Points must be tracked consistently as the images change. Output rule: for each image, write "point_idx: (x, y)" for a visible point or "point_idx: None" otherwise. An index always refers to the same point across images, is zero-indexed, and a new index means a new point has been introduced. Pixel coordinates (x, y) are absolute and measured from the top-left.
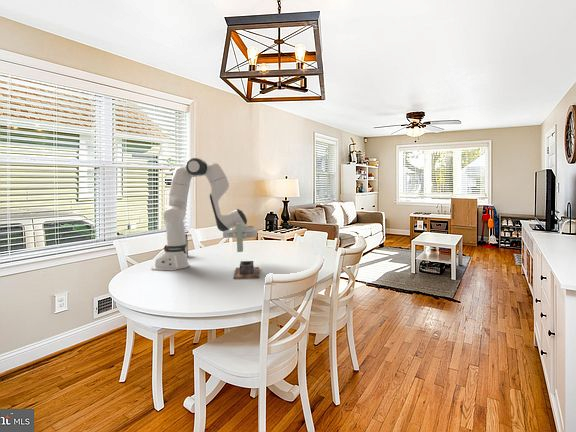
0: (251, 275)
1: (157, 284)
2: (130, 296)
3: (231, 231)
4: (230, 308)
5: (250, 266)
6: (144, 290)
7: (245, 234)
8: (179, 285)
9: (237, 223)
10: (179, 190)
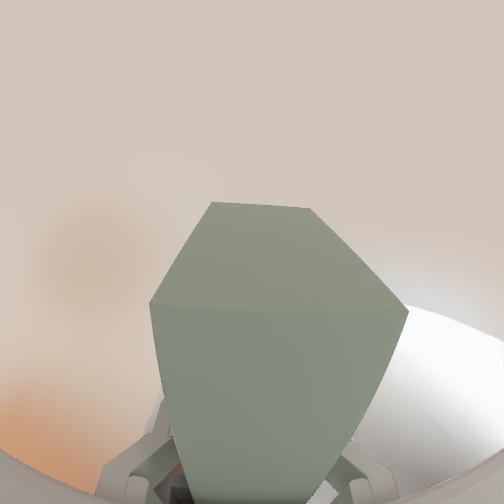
0: (178, 466)
1: (487, 389)
2: (465, 332)
3: (451, 501)
4: None
5: (173, 475)
6: (474, 356)
7: (143, 450)
8: (433, 392)
9: (318, 240)
10: None
